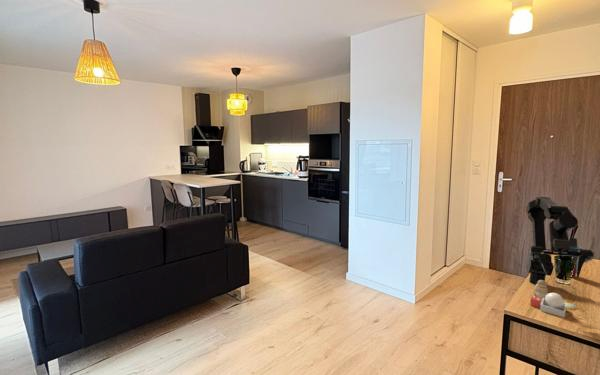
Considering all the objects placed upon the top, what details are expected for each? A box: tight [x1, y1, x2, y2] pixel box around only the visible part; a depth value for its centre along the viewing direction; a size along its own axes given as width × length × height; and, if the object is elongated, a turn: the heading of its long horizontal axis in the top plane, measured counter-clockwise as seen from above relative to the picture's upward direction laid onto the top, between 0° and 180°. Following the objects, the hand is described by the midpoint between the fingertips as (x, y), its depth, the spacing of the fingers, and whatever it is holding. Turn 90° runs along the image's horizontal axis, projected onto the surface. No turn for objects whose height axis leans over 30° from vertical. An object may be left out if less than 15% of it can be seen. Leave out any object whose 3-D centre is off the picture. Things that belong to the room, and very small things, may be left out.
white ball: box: [545, 292, 565, 309], centre depth 123 cm, size 6×6×6 cm
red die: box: [529, 295, 542, 309], centre depth 127 cm, size 3×3×3 cm
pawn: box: [533, 280, 549, 301], centre depth 132 cm, size 4×4×8 cm
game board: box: [539, 298, 578, 318], centre depth 127 cm, size 18×14×4 cm
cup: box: [569, 245, 583, 278], centre depth 157 cm, size 7×7×15 cm
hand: (561, 275), depth 121 cm, fingers open, 9 cm apart
